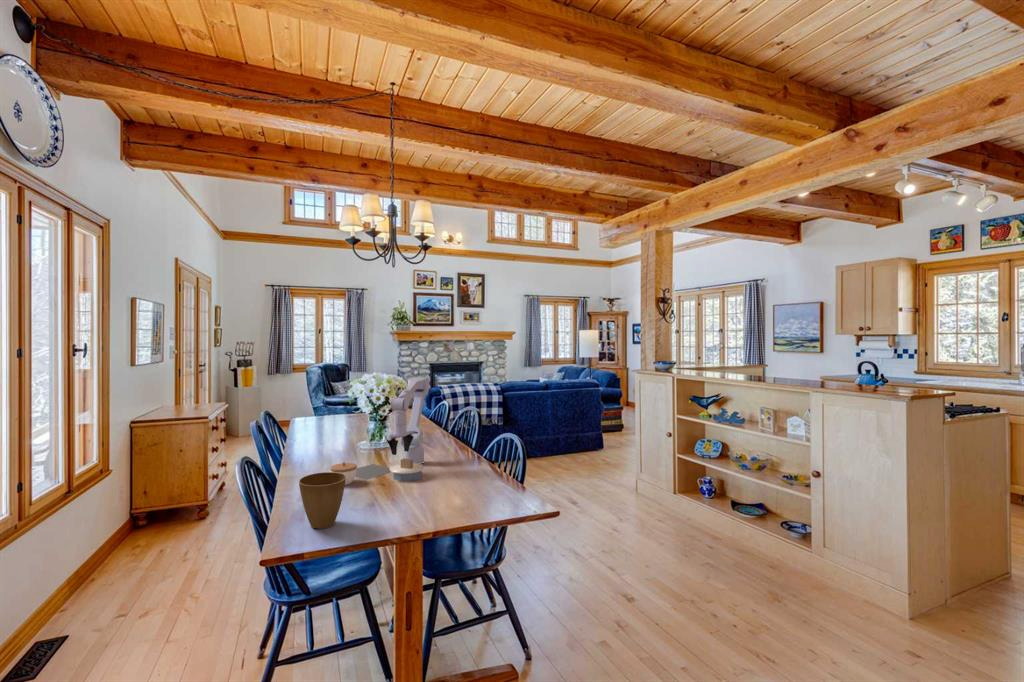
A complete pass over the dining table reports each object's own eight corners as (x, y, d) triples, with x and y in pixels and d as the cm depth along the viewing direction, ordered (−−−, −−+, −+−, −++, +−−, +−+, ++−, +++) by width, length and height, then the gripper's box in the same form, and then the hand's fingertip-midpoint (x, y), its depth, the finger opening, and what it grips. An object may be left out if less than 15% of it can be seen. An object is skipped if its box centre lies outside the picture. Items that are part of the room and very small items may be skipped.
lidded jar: (361, 480, 213) (360, 459, 213) (350, 488, 203) (350, 466, 202) (337, 479, 214) (337, 458, 214) (326, 487, 204) (325, 465, 204)
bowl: (408, 472, 226) (408, 464, 226) (427, 476, 219) (427, 468, 219) (388, 478, 216) (388, 470, 216) (407, 483, 209) (407, 474, 209)
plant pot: (289, 532, 158) (289, 483, 158) (315, 515, 173) (315, 470, 172) (331, 535, 155) (330, 486, 155) (354, 518, 170) (354, 473, 170)
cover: (402, 463, 228) (402, 454, 228) (430, 466, 222) (430, 457, 222) (382, 471, 214) (382, 462, 214) (411, 475, 208) (411, 465, 208)
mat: (372, 464, 239) (372, 463, 239) (397, 470, 229) (397, 469, 229) (341, 473, 224) (341, 472, 224) (366, 480, 214) (366, 479, 214)
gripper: (405, 420, 232) (405, 448, 233) (382, 425, 220) (382, 454, 221) (416, 422, 228) (416, 450, 229) (392, 427, 216) (392, 457, 217)
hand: (400, 452), depth 224 cm, fingers open, 7 cm apart
